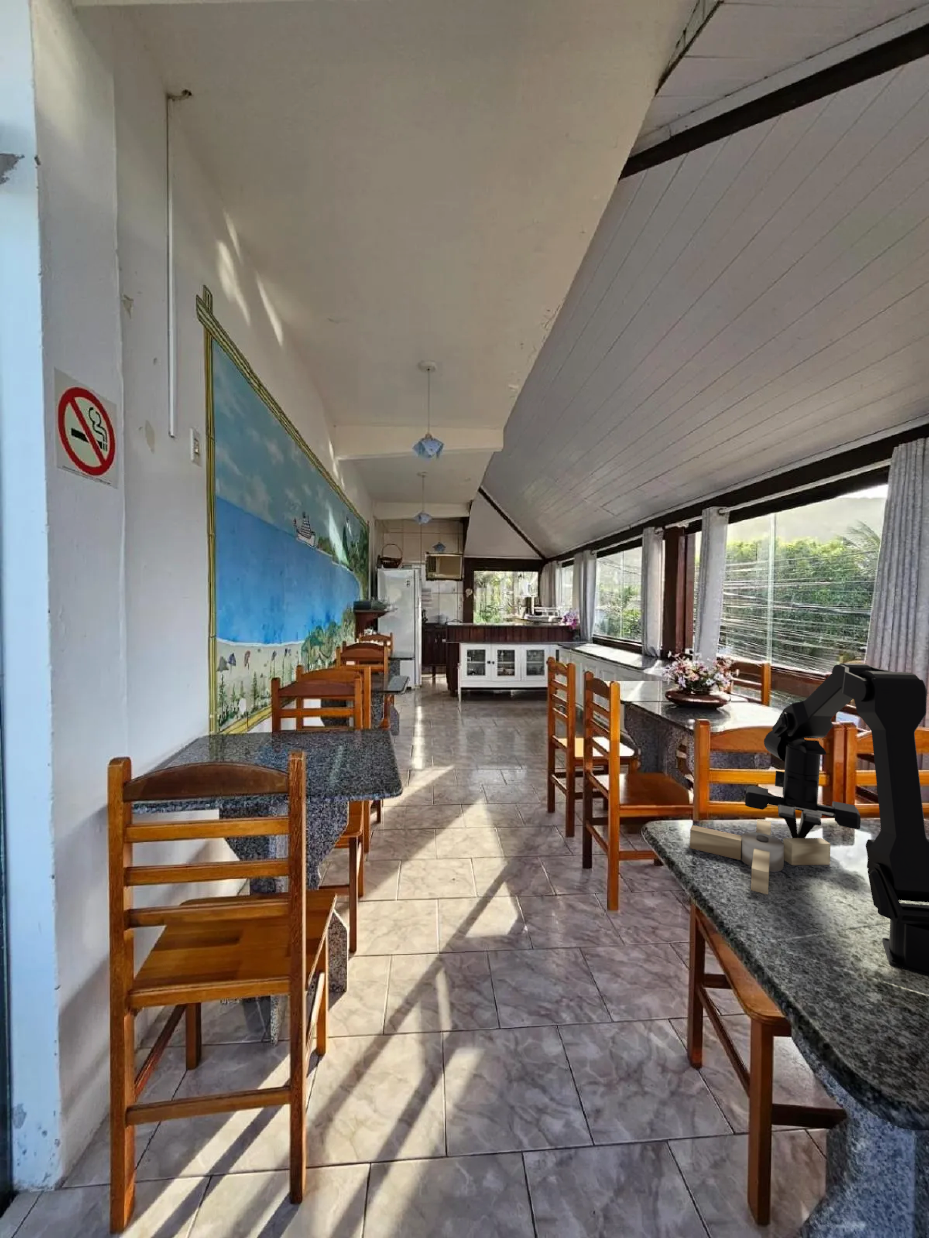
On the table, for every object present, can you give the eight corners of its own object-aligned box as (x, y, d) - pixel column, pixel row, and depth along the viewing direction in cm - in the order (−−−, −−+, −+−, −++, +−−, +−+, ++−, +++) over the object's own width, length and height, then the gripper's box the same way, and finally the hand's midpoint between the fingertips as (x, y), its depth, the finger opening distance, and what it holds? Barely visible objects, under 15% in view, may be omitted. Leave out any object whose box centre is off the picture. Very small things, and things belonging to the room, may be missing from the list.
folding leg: (791, 864, 98) (792, 843, 98) (782, 858, 100) (783, 838, 100) (829, 864, 98) (830, 843, 98) (820, 858, 100) (820, 837, 100)
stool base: (783, 900, 86) (784, 870, 86) (680, 872, 94) (681, 845, 94) (783, 843, 107) (783, 819, 107) (699, 825, 116) (699, 803, 116)
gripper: (855, 768, 104) (850, 845, 105) (749, 752, 114) (745, 821, 114) (863, 785, 94) (857, 869, 95) (747, 765, 104) (742, 841, 105)
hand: (796, 848), depth 103 cm, fingers closed
